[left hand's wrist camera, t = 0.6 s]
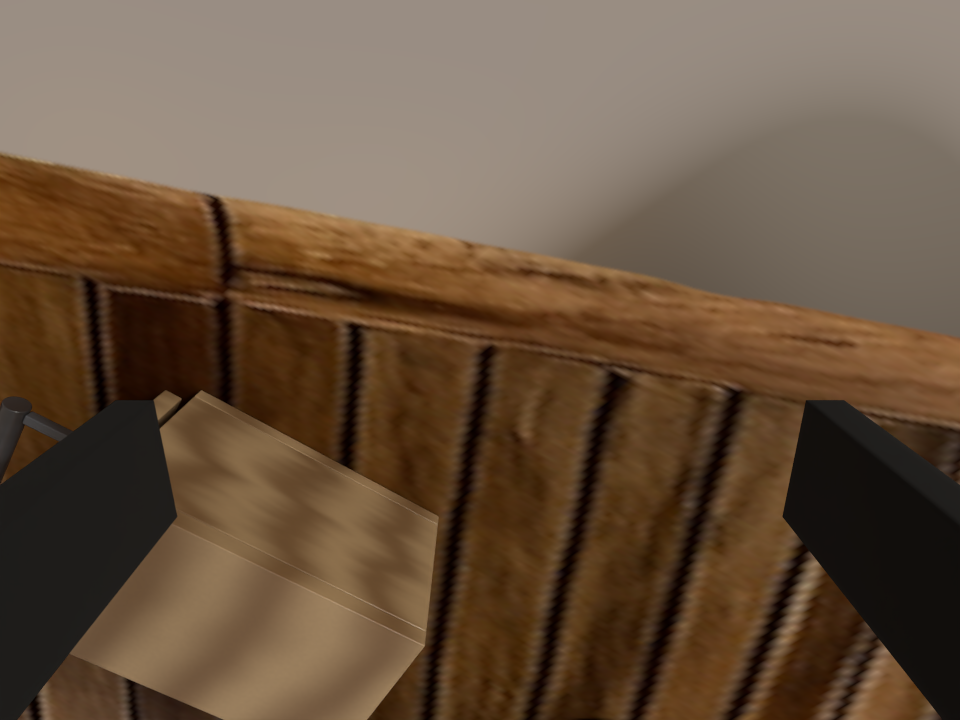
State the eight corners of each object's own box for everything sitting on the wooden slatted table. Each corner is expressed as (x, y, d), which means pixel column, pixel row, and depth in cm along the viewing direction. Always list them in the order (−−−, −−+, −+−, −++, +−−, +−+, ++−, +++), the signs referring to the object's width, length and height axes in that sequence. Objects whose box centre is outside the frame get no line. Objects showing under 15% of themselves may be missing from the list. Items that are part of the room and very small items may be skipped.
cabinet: (140, 507, 45) (24, 635, 33) (201, 389, 41) (95, 487, 30) (366, 616, 48) (331, 765, 37) (439, 516, 45) (424, 646, 34)
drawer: (31, 459, 42) (-99, 553, 33) (80, 344, 39) (-47, 412, 30) (331, 603, 46) (293, 724, 37) (396, 510, 43) (372, 615, 34)
